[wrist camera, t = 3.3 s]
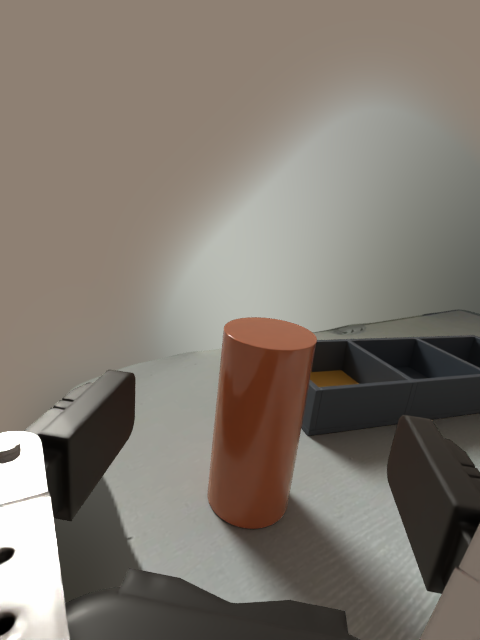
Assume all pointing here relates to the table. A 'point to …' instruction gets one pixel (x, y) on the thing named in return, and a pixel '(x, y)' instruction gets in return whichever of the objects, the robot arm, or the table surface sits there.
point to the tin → (258, 419)
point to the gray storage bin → (391, 381)
